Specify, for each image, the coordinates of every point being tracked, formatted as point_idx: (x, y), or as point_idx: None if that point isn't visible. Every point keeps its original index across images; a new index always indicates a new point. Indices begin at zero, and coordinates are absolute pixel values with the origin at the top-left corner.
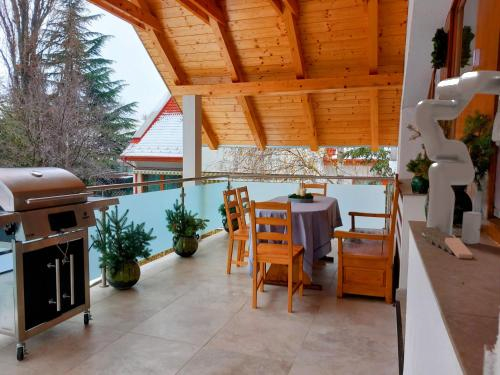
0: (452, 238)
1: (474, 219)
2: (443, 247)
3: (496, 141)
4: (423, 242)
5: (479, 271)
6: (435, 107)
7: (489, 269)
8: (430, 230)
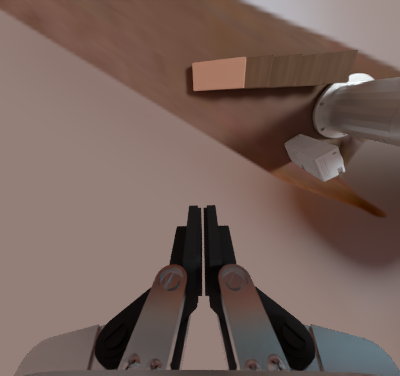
0: (242, 72)
1: (309, 158)
2: None
3: (321, 372)
4: (306, 46)
5: (125, 61)
6: None
7: (141, 86)
8: (322, 59)
